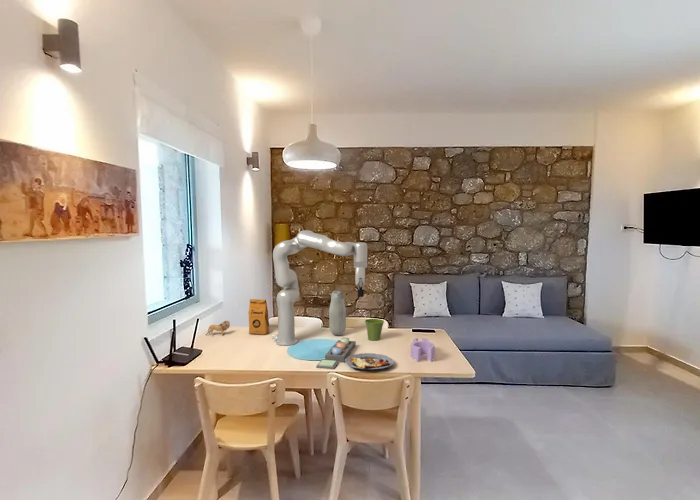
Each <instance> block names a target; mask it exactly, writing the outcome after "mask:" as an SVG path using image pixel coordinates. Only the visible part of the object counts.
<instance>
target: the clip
mask: <svg viewBox="0 0 700 500" xmlns="http://www.w3.org/2000/svg"><path fill="white" fill-rule="evenodd" d="M424 354H427V355H426V361H427V360H429V361H432V362H433V360H432V359H434V358H436V345H435V343H433V342H430V341H429V339H428V338H425V337H423V338H422V340H421V341H420V340H419V338H417V337H415V338H413V339H412V342H411V343H410V358H411V357H412V358H413V359H412V358H411V359H412V360H414V359H416V360H415V361H416V362H417V361H419V362H421V361H422V355H424ZM420 360H421V361H420ZM434 360H435V359H434ZM429 361H428V362H429Z"/></svg>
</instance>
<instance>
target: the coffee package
mask: <svg viewBox="0 0 700 500" xmlns="http://www.w3.org/2000/svg"><path fill="white" fill-rule="evenodd" d="M269 333H270V320H269V310H268V304H267V299H257V298H256V299H255V298H250V299H249V307H248V334H251V335H252V334H253V335H260V336H261V335H263V336H264V335H265V336H266V335H267V334H269Z"/></svg>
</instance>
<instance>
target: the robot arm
mask: <svg viewBox="0 0 700 500" xmlns="http://www.w3.org/2000/svg"><path fill="white" fill-rule="evenodd" d="M306 248H313V249H316V250H319V251H323V252H326V253H329V254H332V255H335V256H340V257H348V256H352V255H353V268H355V270H354V272H355V275H354V276H355V278H354V280H355V282H354V283H355V286H357V297H358V298H363V297H364V293H365V292H364V291H365V290H364V286H365V282H366V281H365V279H366V268H368V243H367V242H360V241H359V242H352V241H345V242H344V241H343V242H342V241H339V240H334V239H332V238H330V237H328V236H327V235H325V234H320V233H315V232H314V231H312V230H309V229H307V230H301V231H299V232H298V233H297V234H296V236H295V237H293V238H292V239H289V240H288V239H287V240H282V241H281V242H279V243H277V244H276V245H275V247H274V248H273V251H272V260H273V266H274V275H275V282H276V285H278V287H281V288H283V289H282V290H279V292H277V293H278V294H277V295H276V300H275V301H276V306H277V333H278V334H272V335H271V338H272V339H275V344H276V345H278V346H293V345H295V344H297V343H298V339H297V338H295V335H296V334H295V330H296V329H295V307H294V303H295V302H297V301H298V300H299V297H300V289H299V281H298V276H297V273H296V271H294V270H293V269H291V268H290V264H289V263H290V262H289V260H288V256H289V255H291V256H292V255H295V254H297V253H299V252H300V251H303V250H304V249H306Z"/></svg>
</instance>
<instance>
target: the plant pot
mask: <svg viewBox="0 0 700 500" xmlns="http://www.w3.org/2000/svg"><path fill="white" fill-rule="evenodd" d="M364 322H365V326H366V331H367V332H366V333H367V339H368V340H369V341H380V340H381V337H382V336H381V335H382V331H383V326H384V323H385V320H383V319H379V318H367V319H365V320H364Z"/></svg>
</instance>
